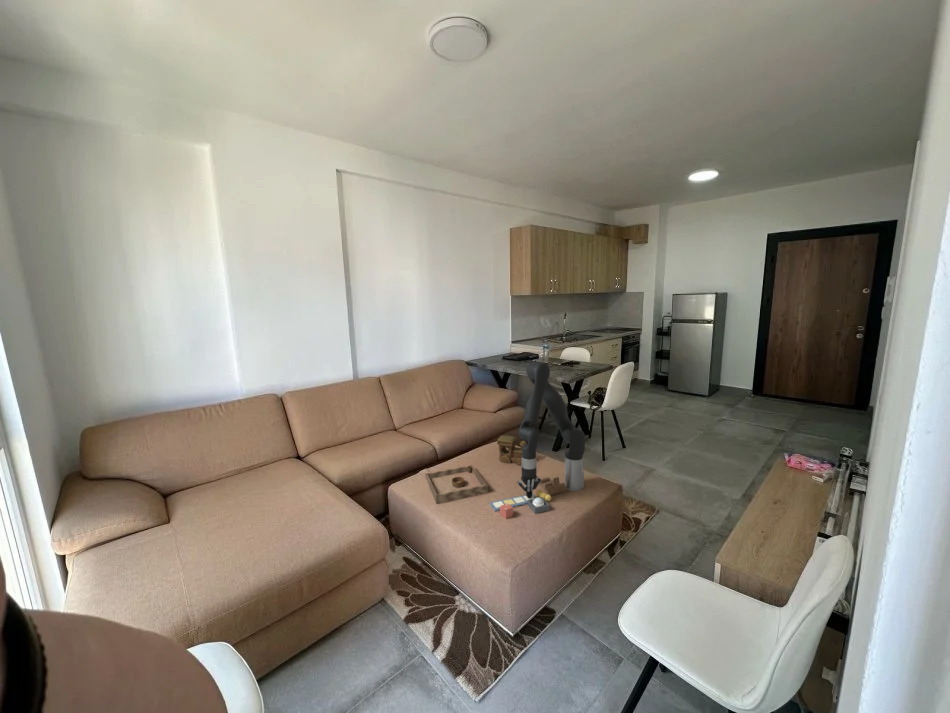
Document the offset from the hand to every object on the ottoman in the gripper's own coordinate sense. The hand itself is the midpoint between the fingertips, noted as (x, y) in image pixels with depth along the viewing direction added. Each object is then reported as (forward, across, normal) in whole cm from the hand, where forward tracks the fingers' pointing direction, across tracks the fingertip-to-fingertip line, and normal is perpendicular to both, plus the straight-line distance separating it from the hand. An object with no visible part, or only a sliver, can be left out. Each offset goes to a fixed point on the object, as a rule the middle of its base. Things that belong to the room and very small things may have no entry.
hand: (529, 497), depth 193 cm
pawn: (-1, -5, 0) cm, 5 cm away
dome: (+1, -1, +8) cm, 9 cm away
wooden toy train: (+2, -11, -40) cm, 41 cm away
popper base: (+1, -1, +8) cm, 9 cm away
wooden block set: (-2, -11, -3) cm, 11 cm away
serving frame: (+1, +31, -26) cm, 41 cm away
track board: (+1, +8, 0) cm, 8 cm away
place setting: (+2, +26, -28) cm, 38 cm away
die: (+1, +16, +8) cm, 19 cm away
